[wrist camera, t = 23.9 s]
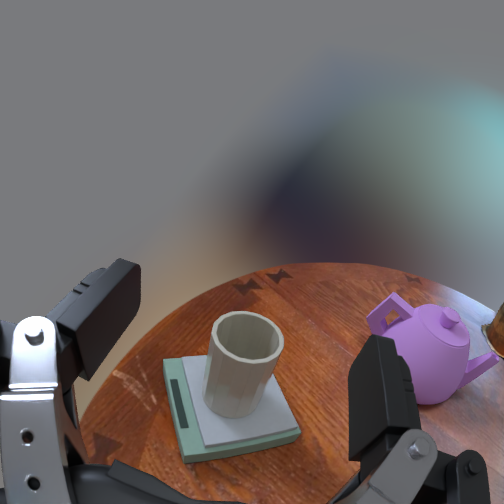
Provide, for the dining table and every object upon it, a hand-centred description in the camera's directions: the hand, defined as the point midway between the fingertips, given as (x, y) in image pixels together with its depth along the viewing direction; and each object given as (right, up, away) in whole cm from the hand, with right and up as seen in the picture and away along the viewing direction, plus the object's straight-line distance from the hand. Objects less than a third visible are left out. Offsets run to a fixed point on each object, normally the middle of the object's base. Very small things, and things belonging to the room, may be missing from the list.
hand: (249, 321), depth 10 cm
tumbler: (-2, -12, +19) cm, 23 cm away
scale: (-3, -15, +21) cm, 26 cm away
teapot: (+25, -16, +31) cm, 42 cm away
